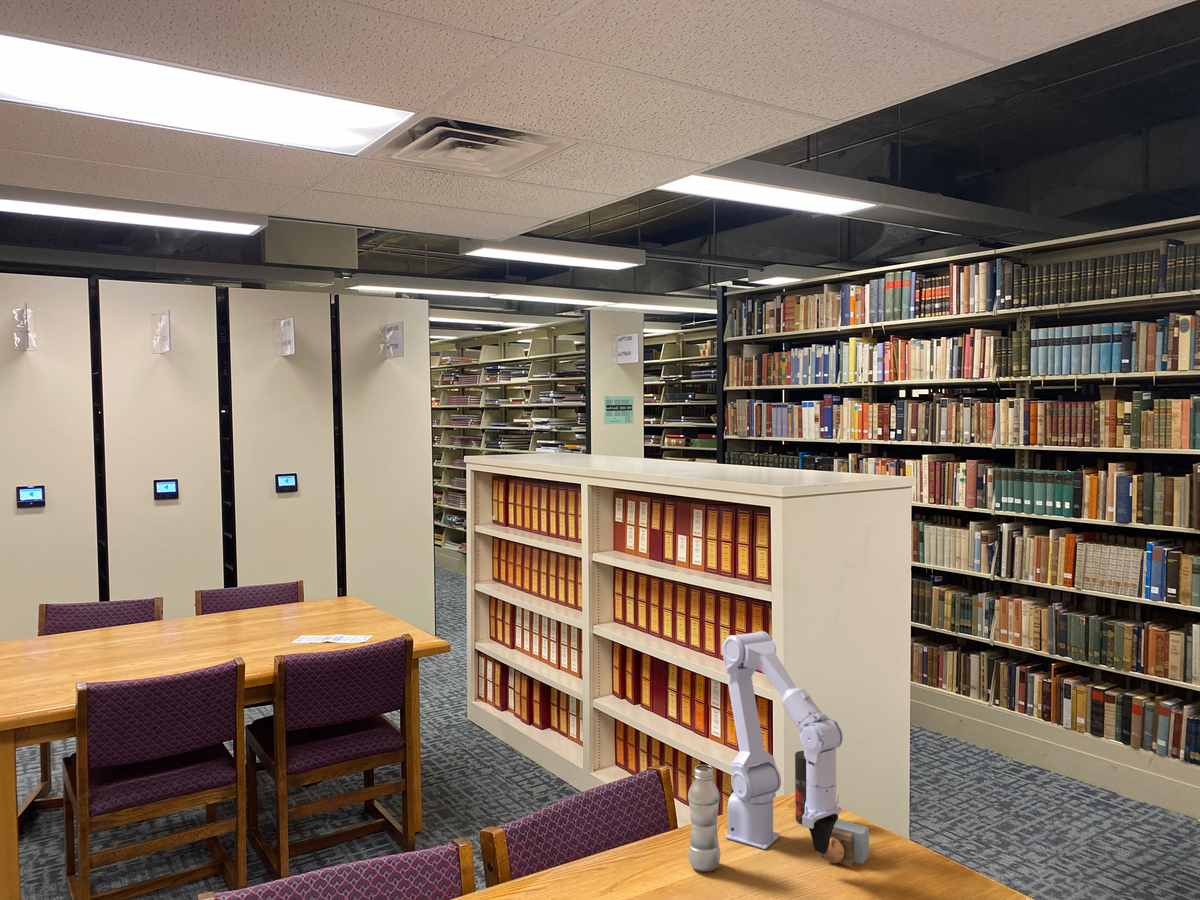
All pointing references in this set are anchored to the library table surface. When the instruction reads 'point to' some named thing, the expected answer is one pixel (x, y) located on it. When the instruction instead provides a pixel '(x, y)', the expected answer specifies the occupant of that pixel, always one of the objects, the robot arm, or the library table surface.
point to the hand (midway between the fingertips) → (821, 851)
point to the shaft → (835, 850)
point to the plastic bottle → (704, 820)
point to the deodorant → (800, 785)
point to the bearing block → (857, 839)
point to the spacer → (849, 845)
